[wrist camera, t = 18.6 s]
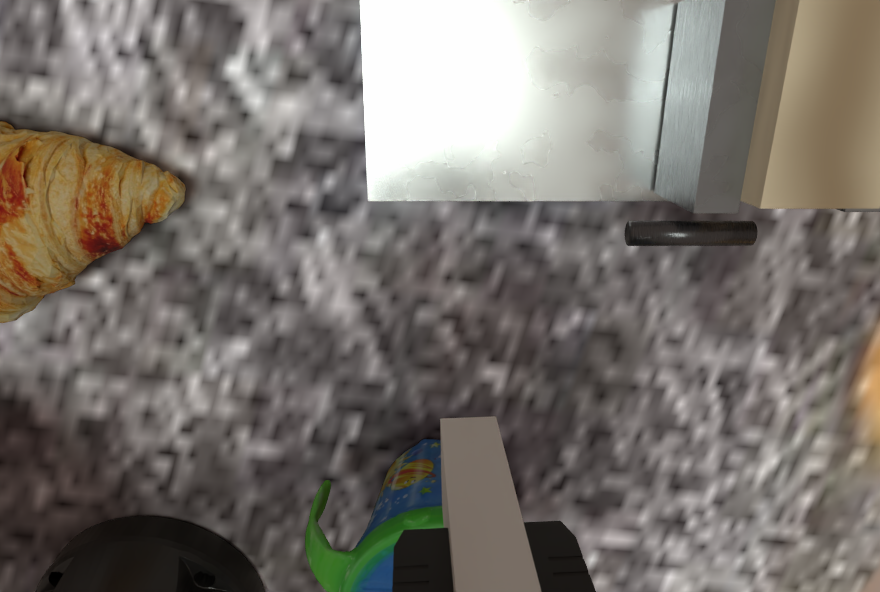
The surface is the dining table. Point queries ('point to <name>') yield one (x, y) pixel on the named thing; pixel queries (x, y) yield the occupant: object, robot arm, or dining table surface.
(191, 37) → the dining table surface
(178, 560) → the robot arm
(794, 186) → the block
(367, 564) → the snack cup
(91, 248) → the croissant
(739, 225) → the sliding jaw
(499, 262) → the dining table surface
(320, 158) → the dining table surface
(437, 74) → the vise bed
